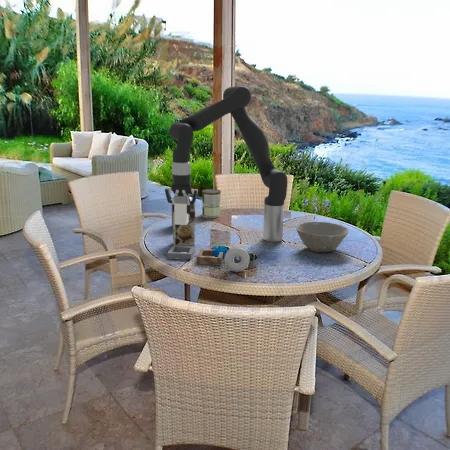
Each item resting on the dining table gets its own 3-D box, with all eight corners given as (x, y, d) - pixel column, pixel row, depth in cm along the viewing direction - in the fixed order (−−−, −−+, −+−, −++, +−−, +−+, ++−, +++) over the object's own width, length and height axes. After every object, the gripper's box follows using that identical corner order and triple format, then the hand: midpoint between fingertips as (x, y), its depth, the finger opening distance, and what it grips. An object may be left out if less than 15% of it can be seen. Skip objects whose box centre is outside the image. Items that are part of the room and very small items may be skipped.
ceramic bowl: (286, 244, 230) (287, 223, 227) (329, 240, 237) (331, 220, 235) (311, 260, 210) (312, 237, 207) (357, 255, 217) (359, 233, 215)
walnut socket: (223, 256, 212) (223, 250, 211) (220, 265, 202) (221, 258, 201) (200, 255, 213) (200, 248, 212) (196, 263, 203) (196, 256, 202)
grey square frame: (195, 252, 217) (195, 246, 216) (191, 259, 207) (191, 254, 207) (172, 250, 218) (172, 245, 217) (167, 258, 208) (167, 252, 208)
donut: (249, 270, 197) (249, 246, 195) (249, 273, 194) (250, 248, 191) (223, 269, 197) (224, 245, 194) (224, 272, 194) (224, 248, 191)
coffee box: (175, 247, 223) (175, 212, 219) (172, 242, 229) (172, 208, 225) (195, 245, 225) (195, 211, 221) (192, 241, 231) (192, 207, 227)
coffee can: (198, 215, 278) (198, 190, 274) (212, 212, 284) (213, 188, 280) (209, 218, 270) (209, 193, 266) (224, 216, 277) (224, 191, 273)
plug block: (188, 221, 211) (188, 194, 208) (186, 225, 206) (186, 196, 203) (177, 221, 211) (176, 193, 208) (174, 224, 207) (174, 196, 203)
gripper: (200, 171, 206) (200, 211, 210) (166, 170, 207) (166, 210, 212) (197, 175, 199) (196, 216, 203) (162, 173, 200) (162, 214, 205)
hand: (181, 212), depth 208 cm, fingers closed on plug block, 5 cm apart
